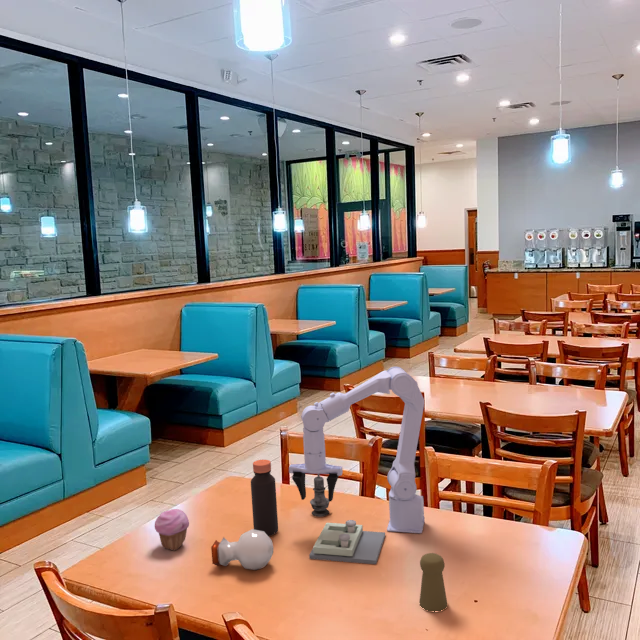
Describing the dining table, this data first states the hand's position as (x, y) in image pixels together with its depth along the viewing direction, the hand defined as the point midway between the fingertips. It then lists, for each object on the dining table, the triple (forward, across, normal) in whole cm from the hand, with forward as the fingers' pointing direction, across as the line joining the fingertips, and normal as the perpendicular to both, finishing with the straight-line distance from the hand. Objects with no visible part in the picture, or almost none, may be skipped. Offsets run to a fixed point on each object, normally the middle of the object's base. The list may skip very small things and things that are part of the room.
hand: (317, 499), depth 168 cm
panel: (+9, -7, +6) cm, 13 cm away
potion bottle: (+10, +14, +20) cm, 27 cm away
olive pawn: (+10, -33, +28) cm, 45 cm away
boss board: (+10, -10, +6) cm, 15 cm away
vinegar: (+10, +15, +1) cm, 18 cm away
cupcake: (+10, +37, +13) cm, 40 cm away
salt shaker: (+10, +3, -13) cm, 17 cm away
